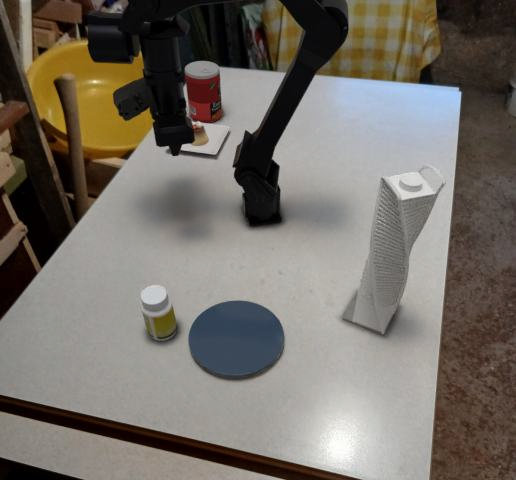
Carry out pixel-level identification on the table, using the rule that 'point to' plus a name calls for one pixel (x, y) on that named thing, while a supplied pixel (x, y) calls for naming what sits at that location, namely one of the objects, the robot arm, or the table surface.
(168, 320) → the supplement bottle
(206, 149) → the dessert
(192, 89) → the canned food
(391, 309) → the skyscraper
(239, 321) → the plate
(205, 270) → the table surface
